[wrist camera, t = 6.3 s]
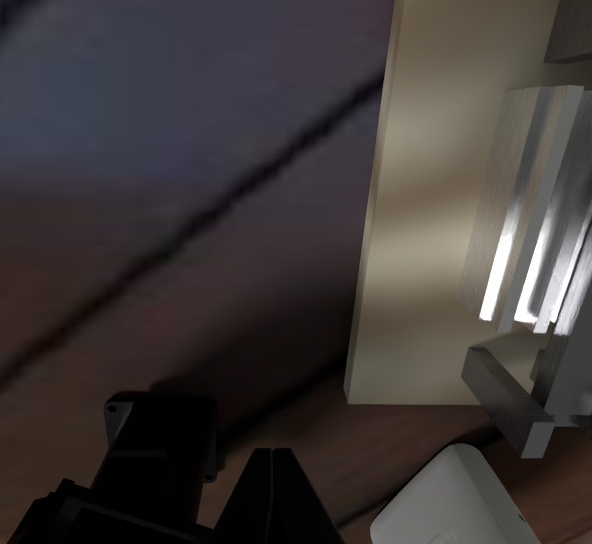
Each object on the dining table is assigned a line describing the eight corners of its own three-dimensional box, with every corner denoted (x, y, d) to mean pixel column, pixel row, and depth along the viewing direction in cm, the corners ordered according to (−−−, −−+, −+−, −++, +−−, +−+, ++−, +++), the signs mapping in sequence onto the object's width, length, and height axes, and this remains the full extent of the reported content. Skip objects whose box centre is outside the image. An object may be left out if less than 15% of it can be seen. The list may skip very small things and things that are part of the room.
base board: (612, 390, 26) (632, 406, 24) (343, 387, 24) (348, 403, 23) (811, -62, 17) (859, -77, 16) (409, -111, 15) (423, -134, 14)
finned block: (596, 302, 21) (655, 335, 18) (455, 298, 21) (490, 331, 17) (672, 104, 18) (763, 101, 14) (504, 90, 17) (560, 84, 14)
